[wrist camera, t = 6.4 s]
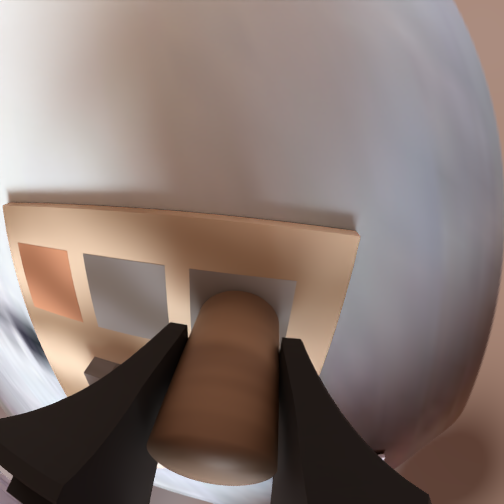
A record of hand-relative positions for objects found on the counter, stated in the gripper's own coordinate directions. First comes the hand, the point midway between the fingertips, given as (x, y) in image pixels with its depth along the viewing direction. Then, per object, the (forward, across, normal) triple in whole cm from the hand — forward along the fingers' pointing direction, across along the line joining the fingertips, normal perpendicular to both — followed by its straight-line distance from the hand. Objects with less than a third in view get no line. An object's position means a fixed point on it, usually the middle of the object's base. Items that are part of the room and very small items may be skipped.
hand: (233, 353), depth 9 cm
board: (+3, +4, +3) cm, 6 cm away
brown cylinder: (+2, 0, 0) cm, 2 cm away
